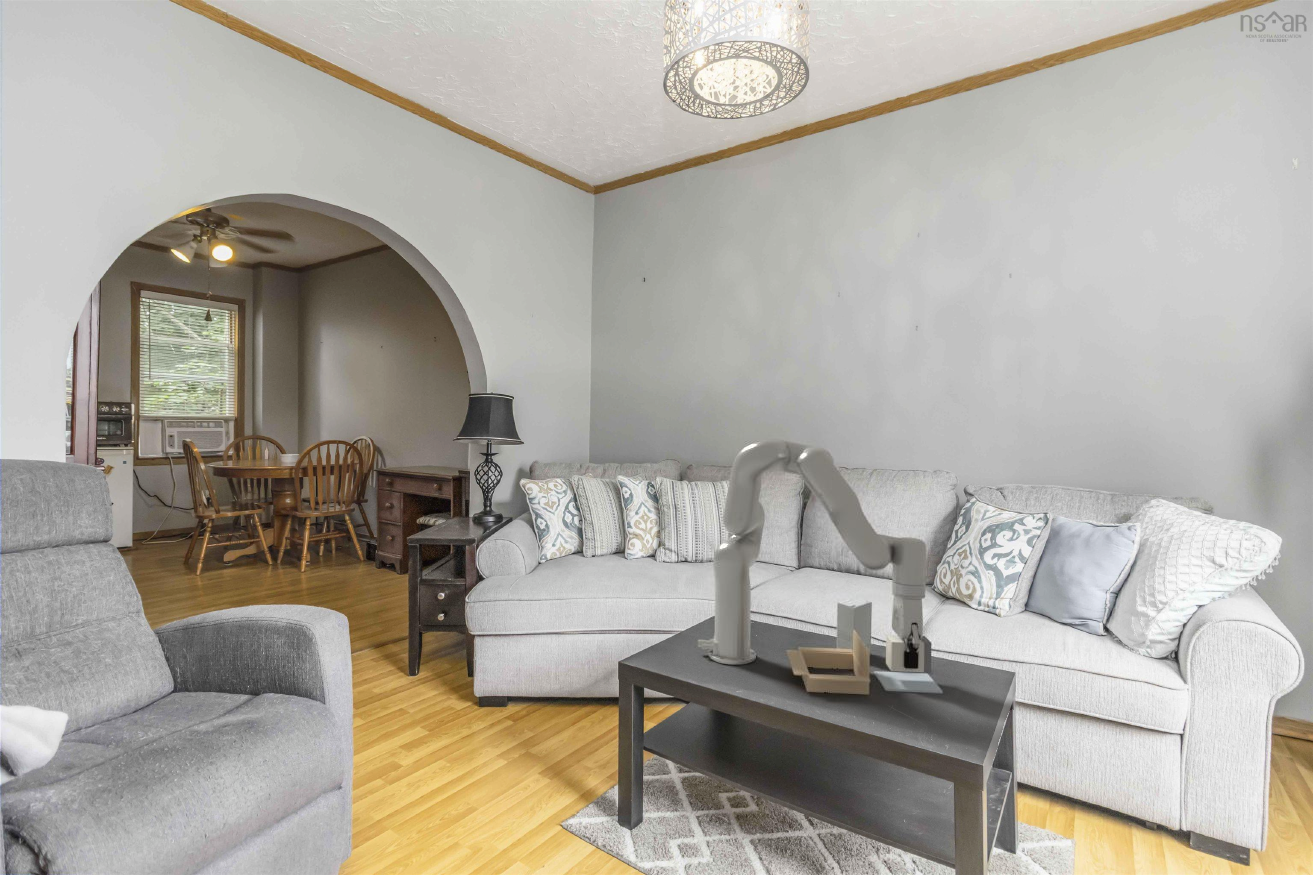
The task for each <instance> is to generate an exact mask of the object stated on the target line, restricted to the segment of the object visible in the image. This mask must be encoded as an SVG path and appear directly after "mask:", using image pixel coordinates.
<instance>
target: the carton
mask: <svg viewBox="0 0 1313 875" xmlns="http://www.w3.org/2000/svg"><path fill="white" fill-rule="evenodd" d="M786 654H787V656H788V659H789V662H790V667H791V669H792V672H793V675H794V676H801V675H802V676H801V678H803V679H802V681H804V682H803V685H804V686H805V691H806V692H807V693H809V692H810V693H824V692H826V693H827V692H828V693H829V694H850V695H851V694H852V695H870V683H871V678H870V667H871V666H870V663H871V661H870V657H871V654H870V651H869V650H868V649H867V647H866V646H865V644H864V643H863V641H862V640H861V638H860V637H859V635H858V634H857V632H856V631H855V630H853V651H852V649H836V648H832V647H831V648H830V647H829V648H828V647H807V646H804V647H803V646H802V647H801V646H798V649H786ZM807 667H813V668H812V669H830V668H831V669H832V668H833V669H836V670H837V668H838V670H852V669H853V670H852V672H853V673H854V675H840V674H821V673H820V674H818V673H816V674H815V673H810V672H809V669H808V668H807ZM826 693H825V694H826Z"/></svg>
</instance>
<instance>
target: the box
mask: <svg viewBox="0 0 1313 875" xmlns="http://www.w3.org/2000/svg"><path fill="white" fill-rule="evenodd" d="M908 638H910V639H912V636H908ZM885 639H886V640H885V642H886V643H885V664H886V666H887V667H888V669H889V670H890V672H904V673H927V674H928V673H929V674H930V673H932V642H931V641H930V640H929V638H927V637H926V636H925V635H922V639H921V640H919V641H920V645H919V656H918V669H909V668H905V667H904V651H906V648H905V639H904V640H902V639H901V638H900V637H899V636H898V635H888V634H887V635H886V636H885ZM910 643H912V641H909V645H910Z"/></svg>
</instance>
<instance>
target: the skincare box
mask: <svg viewBox="0 0 1313 875" xmlns="http://www.w3.org/2000/svg"><path fill="white" fill-rule="evenodd" d="M836 604H837V606H836V607H837V608H836V614H837V616H836V648H835V649H852V651H853V630H855V631H856V632H857V634H858V635H859V637H860V638H861V640H862V641H863V643H864V644H865V646H866V647H867V649H868V650H869V651H870V655H871V654H872V618H873V617H872V615H873V614H872V612H873V609H872V608H873V607H872V606H873V603H872V601H869V600H867V599H863V598H862V599H861V598H859V597H855V596H853V597H851V598H848V599H845V600H842V601H839V602H837V603H836Z"/></svg>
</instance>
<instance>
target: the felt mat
mask: <svg viewBox="0 0 1313 875" xmlns="http://www.w3.org/2000/svg"><path fill="white" fill-rule="evenodd" d="M873 673H875V674H874V675H875V677H876V679H877V680H878V682H879V683H880V684H881V686H882V688H883V689H884V690H885V691H886V692H900V693H901V692H902V693H904V692H905V693H922V694H923V693H924V694H925V693H926V694H927V693H928V694H943V690H942V689H941V688H940V686H939V685H938V684H937V682H935V680H934V679H933V678H932V677H931V675H929V674H928V673H924V672H902V671H877V670H876V671H875V670H874V671H873Z"/></svg>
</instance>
